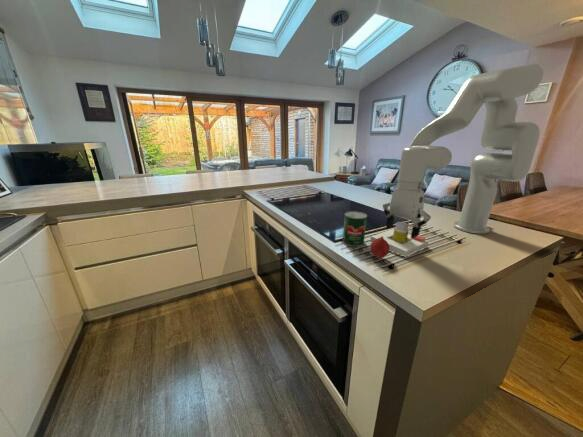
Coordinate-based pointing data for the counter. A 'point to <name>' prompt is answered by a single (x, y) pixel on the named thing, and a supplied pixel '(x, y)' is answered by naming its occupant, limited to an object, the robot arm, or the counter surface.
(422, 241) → the socket plate
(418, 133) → the robot arm
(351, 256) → the counter surface
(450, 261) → the counter surface
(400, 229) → the supplement bottle
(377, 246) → the onion
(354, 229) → the canned tomato
